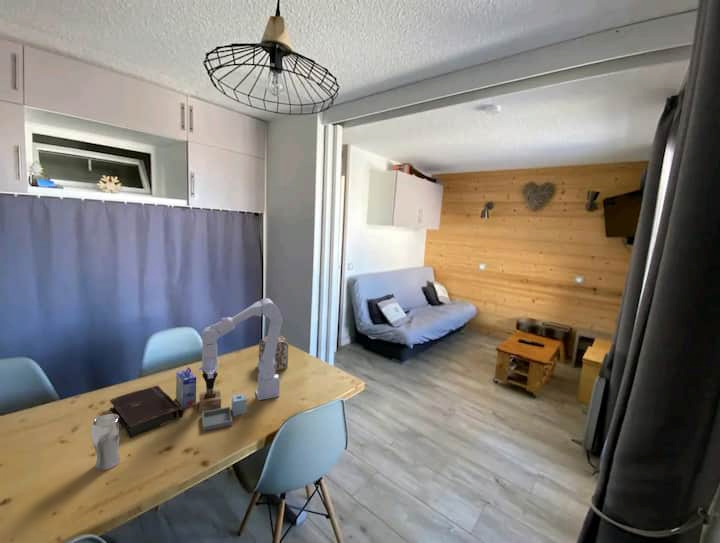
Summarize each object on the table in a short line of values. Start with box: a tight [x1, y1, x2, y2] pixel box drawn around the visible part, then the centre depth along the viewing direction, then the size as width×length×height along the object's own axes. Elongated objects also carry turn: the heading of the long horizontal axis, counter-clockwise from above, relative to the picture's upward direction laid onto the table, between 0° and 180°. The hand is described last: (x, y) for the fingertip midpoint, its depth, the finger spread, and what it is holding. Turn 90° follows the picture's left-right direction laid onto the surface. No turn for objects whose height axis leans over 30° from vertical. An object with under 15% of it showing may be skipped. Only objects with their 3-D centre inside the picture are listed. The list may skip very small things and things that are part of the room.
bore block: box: [198, 389, 222, 413], centre depth 136 cm, size 8×8×4 cm
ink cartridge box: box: [175, 366, 197, 409], centre depth 136 cm, size 10×6×14 cm, turn 45°
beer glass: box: [91, 413, 121, 472], centre depth 100 cm, size 7×7×15 cm
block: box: [231, 393, 247, 416], centre depth 133 cm, size 5×5×6 cm
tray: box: [201, 406, 233, 433], centre depth 125 cm, size 10×10×2 cm
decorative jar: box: [258, 335, 289, 372], centre depth 173 cm, size 12×12×18 cm
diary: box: [109, 385, 184, 439], centre depth 127 cm, size 19×25×5 cm
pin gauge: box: [205, 386, 215, 395], centre depth 135 cm, size 3×3×8 cm
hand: (209, 386), depth 135 cm, fingers closed on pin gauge, 3 cm apart
